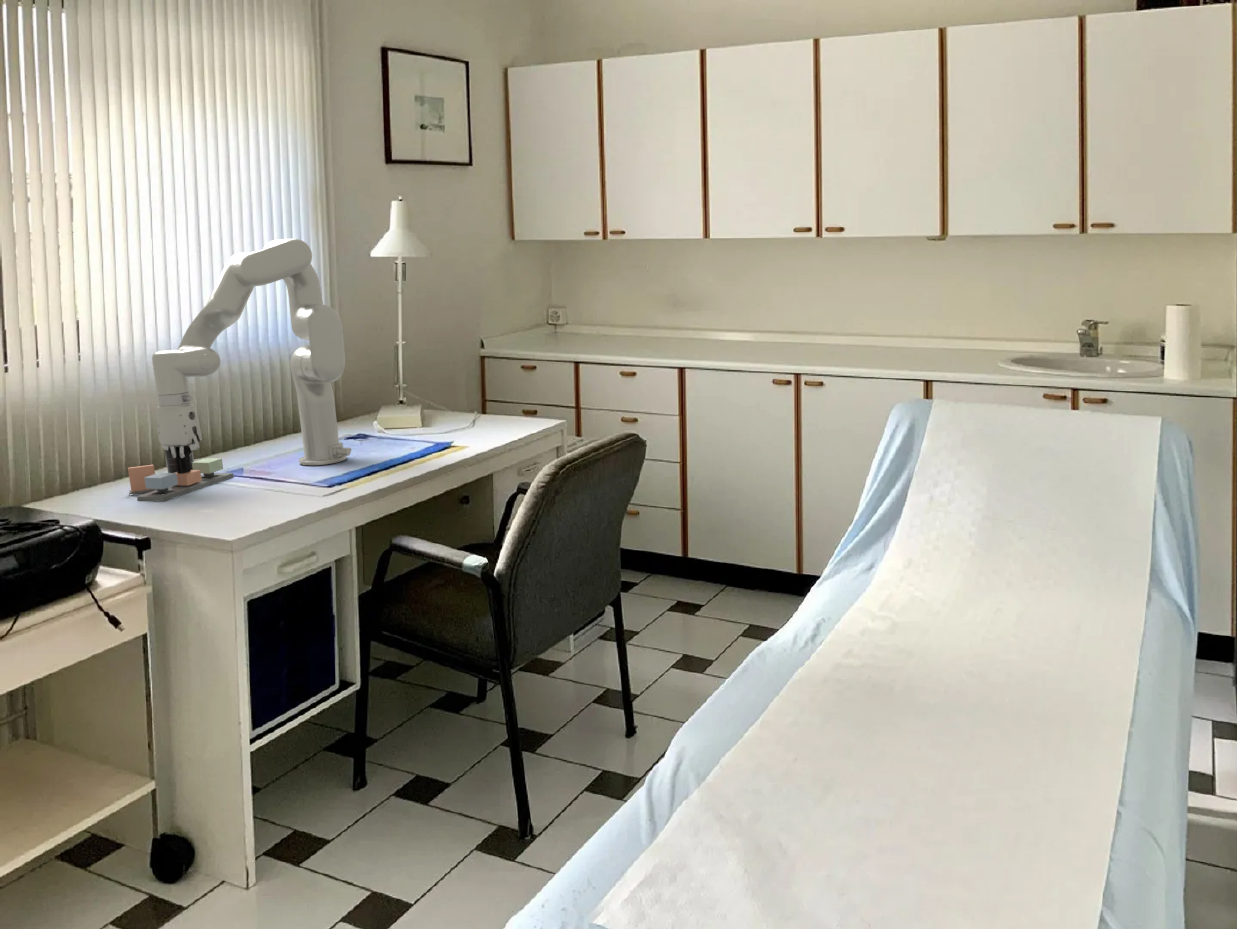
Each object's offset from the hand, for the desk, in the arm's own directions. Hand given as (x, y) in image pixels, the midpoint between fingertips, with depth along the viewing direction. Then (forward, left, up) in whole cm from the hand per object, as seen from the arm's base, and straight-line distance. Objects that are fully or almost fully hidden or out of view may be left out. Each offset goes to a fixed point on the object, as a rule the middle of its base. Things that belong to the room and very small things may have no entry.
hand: (184, 472), depth 294 cm
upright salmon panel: (+9, +5, -4) cm, 11 cm away
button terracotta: (0, 0, -4) cm, 4 cm away
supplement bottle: (+10, -10, -4) cm, 15 cm away
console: (0, 0, -4) cm, 4 cm away
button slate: (0, +8, -3) cm, 9 cm away
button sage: (0, -9, -3) cm, 9 cm away
